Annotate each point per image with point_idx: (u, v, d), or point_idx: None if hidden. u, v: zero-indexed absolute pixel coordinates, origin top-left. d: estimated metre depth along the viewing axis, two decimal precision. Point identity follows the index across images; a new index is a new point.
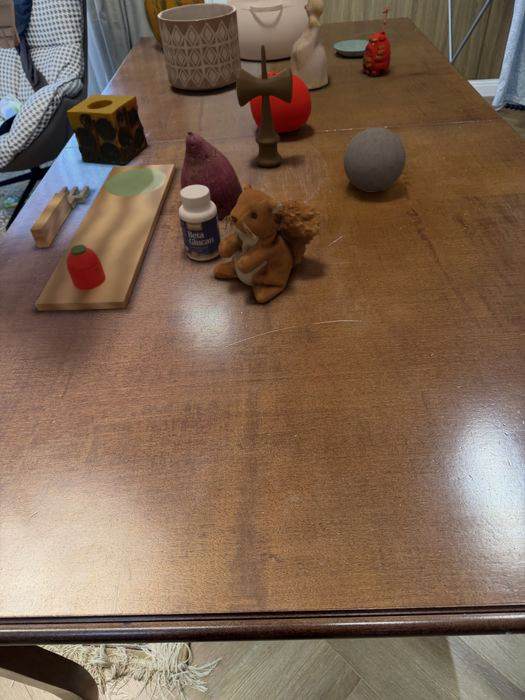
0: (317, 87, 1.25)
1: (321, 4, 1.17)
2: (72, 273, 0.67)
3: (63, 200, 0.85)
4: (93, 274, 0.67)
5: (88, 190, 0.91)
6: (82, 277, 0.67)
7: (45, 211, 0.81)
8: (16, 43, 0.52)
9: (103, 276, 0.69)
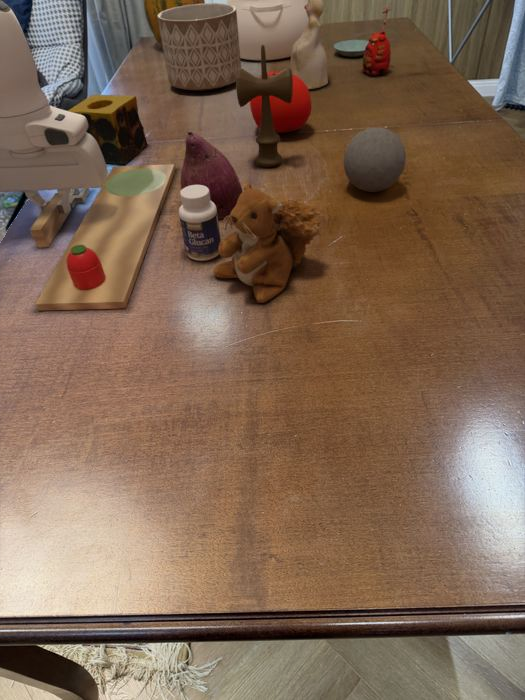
0: (317, 87, 1.25)
1: (321, 4, 1.17)
2: (72, 273, 0.67)
3: None
4: (93, 274, 0.67)
5: (88, 190, 0.91)
6: (82, 277, 0.67)
7: (45, 211, 0.81)
8: None
9: (103, 276, 0.69)
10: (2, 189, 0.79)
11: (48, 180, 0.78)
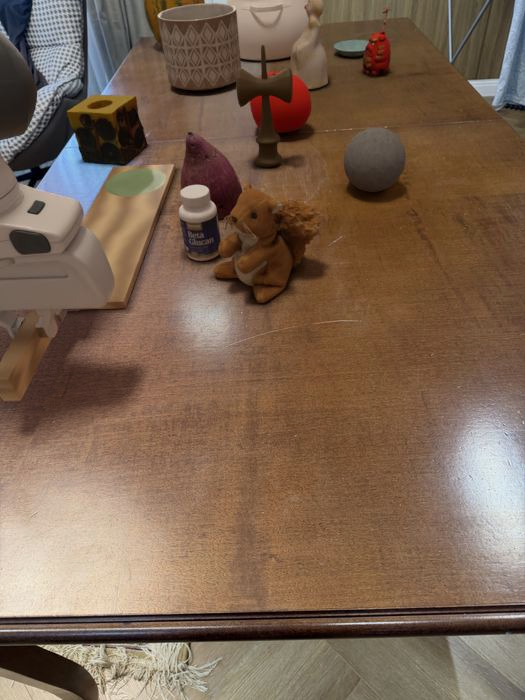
0: (317, 87, 1.25)
1: (321, 4, 1.17)
2: None
3: None
4: None
5: None
6: None
7: (17, 339, 0.52)
8: None
9: None
10: None
11: (20, 297, 0.49)
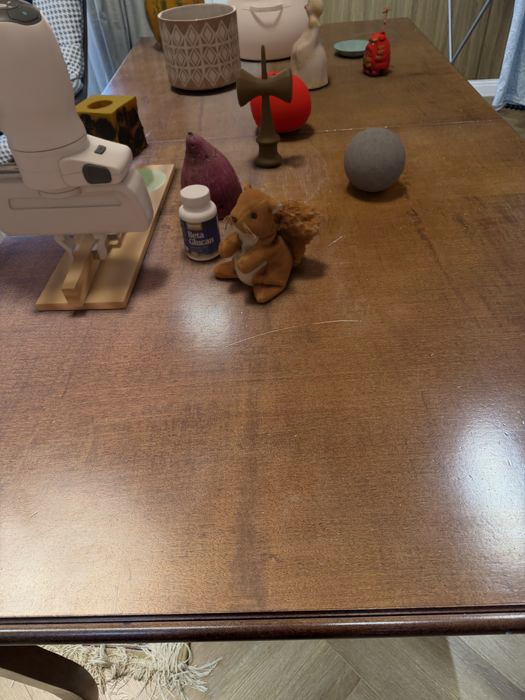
0: (317, 87, 1.25)
1: (321, 4, 1.17)
2: None
3: (96, 242, 0.70)
4: None
5: None
6: None
7: (76, 260, 0.67)
8: None
9: None
10: (27, 233, 0.66)
11: (82, 222, 0.65)
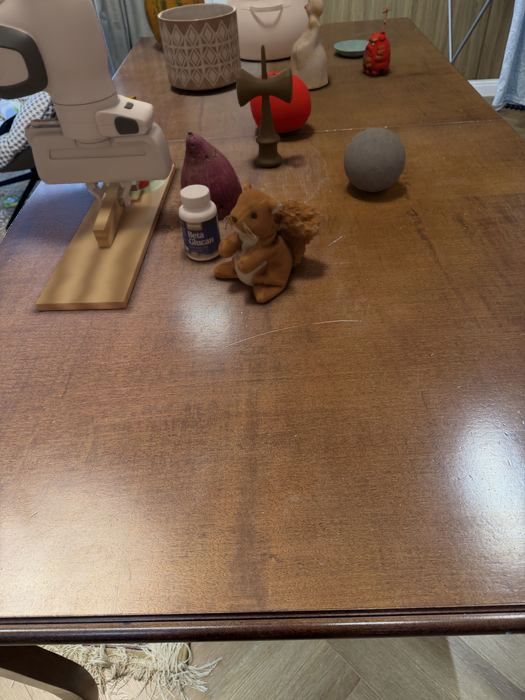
0: (317, 87, 1.25)
1: (321, 4, 1.17)
2: None
3: (119, 191, 0.80)
4: None
5: None
6: None
7: (103, 206, 0.77)
8: None
9: (148, 181, 0.90)
10: (63, 181, 0.77)
11: (112, 171, 0.75)
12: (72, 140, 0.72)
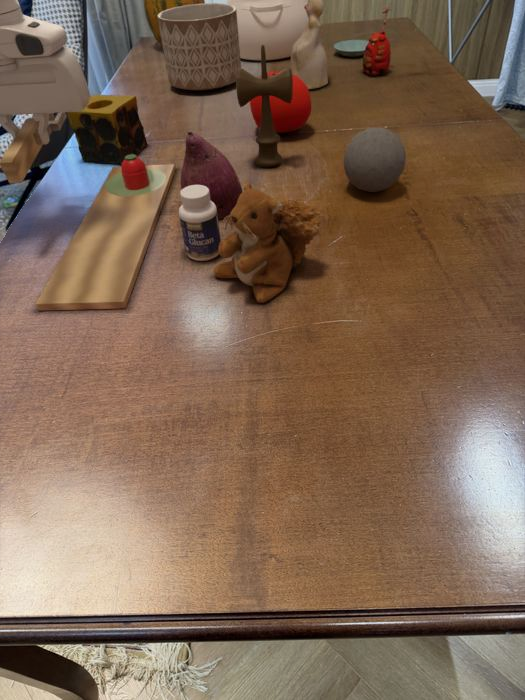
0: (317, 87, 1.25)
1: (321, 4, 1.17)
2: (125, 175, 0.87)
3: (35, 127, 0.74)
4: (141, 177, 0.88)
5: (64, 115, 0.81)
6: (132, 179, 0.88)
7: (15, 140, 0.71)
8: None
9: (148, 181, 0.90)
10: None
11: (22, 101, 0.70)
12: None
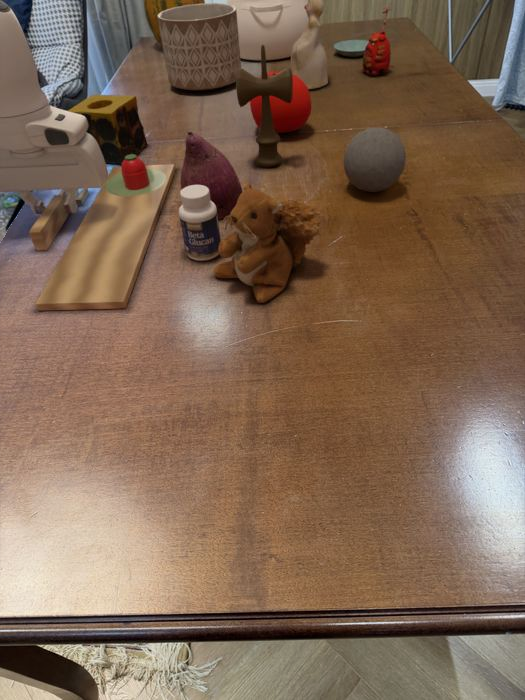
0: (317, 87, 1.25)
1: (321, 4, 1.17)
2: (125, 175, 0.87)
3: (62, 202, 0.84)
4: (141, 177, 0.88)
5: (87, 192, 0.91)
6: (132, 179, 0.88)
7: (44, 213, 0.80)
8: None
9: (148, 181, 0.90)
10: (2, 189, 0.80)
11: (48, 180, 0.78)
12: (7, 150, 0.75)
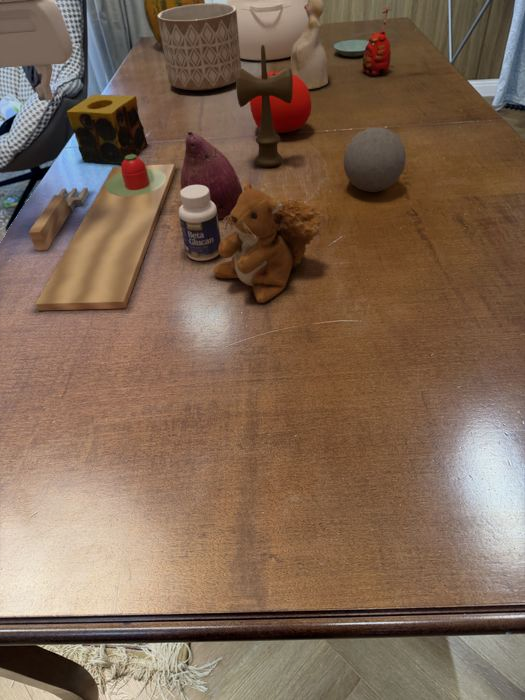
0: (317, 87, 1.25)
1: (321, 4, 1.17)
2: (125, 175, 0.87)
3: (62, 202, 0.84)
4: (141, 177, 0.88)
5: (87, 192, 0.91)
6: (132, 179, 0.88)
7: (44, 213, 0.80)
8: None
9: (148, 181, 0.90)
10: None
11: (0, 52, 0.66)
12: None
